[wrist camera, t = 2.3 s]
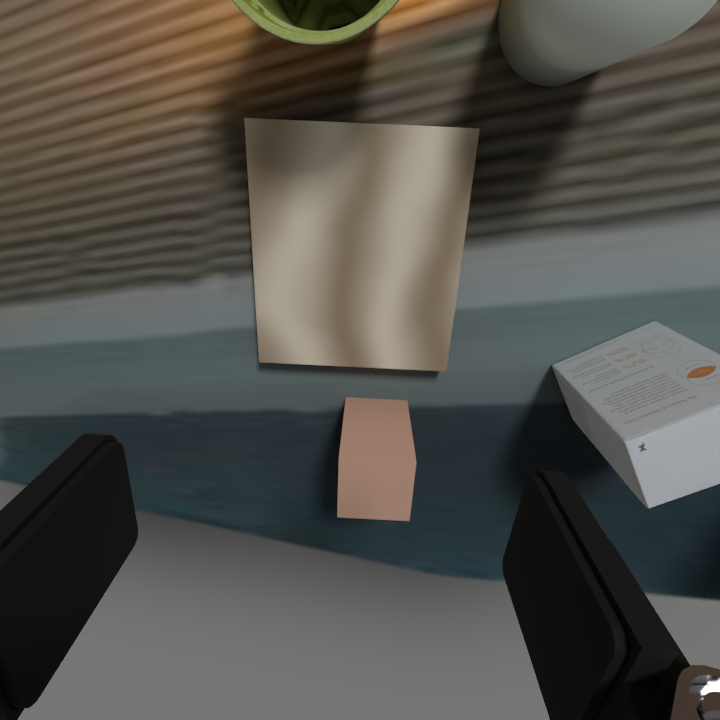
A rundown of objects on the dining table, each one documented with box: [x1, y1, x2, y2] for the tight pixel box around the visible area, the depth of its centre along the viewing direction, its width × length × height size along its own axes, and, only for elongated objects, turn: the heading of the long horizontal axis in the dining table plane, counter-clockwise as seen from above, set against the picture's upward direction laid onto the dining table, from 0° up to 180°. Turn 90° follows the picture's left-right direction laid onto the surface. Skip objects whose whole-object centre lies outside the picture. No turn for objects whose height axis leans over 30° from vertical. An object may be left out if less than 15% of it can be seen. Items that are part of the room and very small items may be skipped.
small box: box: [552, 321, 720, 508], centre depth 29 cm, size 8×6×10 cm
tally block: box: [337, 397, 416, 521], centre depth 32 cm, size 5×5×8 cm
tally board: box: [244, 118, 480, 371], centre depth 30 cm, size 14×16×2 cm
